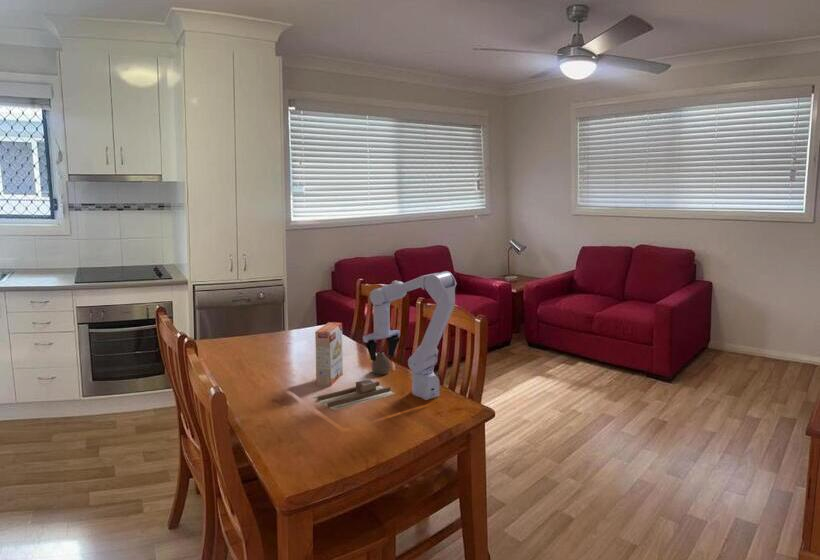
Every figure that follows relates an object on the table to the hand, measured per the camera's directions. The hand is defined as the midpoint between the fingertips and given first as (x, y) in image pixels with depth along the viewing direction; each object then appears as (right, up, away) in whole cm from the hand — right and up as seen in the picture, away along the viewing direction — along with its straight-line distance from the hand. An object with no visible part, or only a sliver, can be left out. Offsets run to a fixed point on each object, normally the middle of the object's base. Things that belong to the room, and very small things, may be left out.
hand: (382, 358), depth 205 cm
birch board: (-9, -12, -10) cm, 18 cm away
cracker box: (-19, -10, +6) cm, 22 cm away
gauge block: (-5, -11, -8) cm, 14 cm away
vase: (-1, -8, +13) cm, 15 cm away
